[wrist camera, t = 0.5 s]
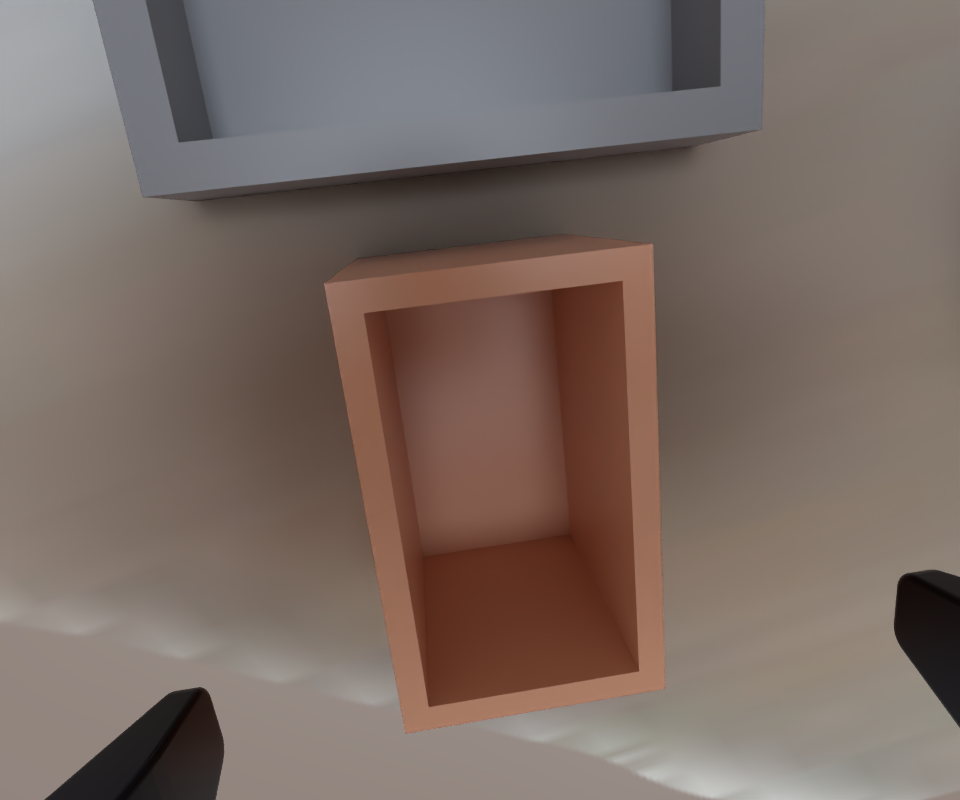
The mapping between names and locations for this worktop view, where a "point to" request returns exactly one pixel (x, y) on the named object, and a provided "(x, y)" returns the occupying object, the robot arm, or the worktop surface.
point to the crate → (418, 86)
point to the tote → (508, 470)
